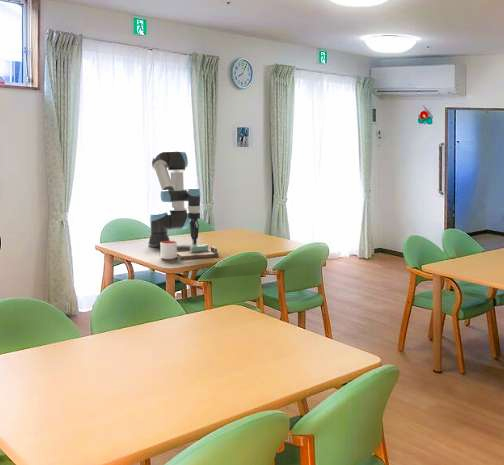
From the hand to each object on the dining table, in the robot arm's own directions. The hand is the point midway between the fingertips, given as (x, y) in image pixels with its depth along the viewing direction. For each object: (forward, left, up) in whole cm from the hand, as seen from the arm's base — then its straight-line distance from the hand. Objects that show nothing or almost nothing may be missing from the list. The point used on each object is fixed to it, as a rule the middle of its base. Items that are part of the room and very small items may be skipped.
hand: (194, 248), depth 396 cm
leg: (+2, +3, -1) cm, 4 cm away
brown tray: (+6, 0, -4) cm, 7 cm away
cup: (+6, -18, -4) cm, 20 cm away
